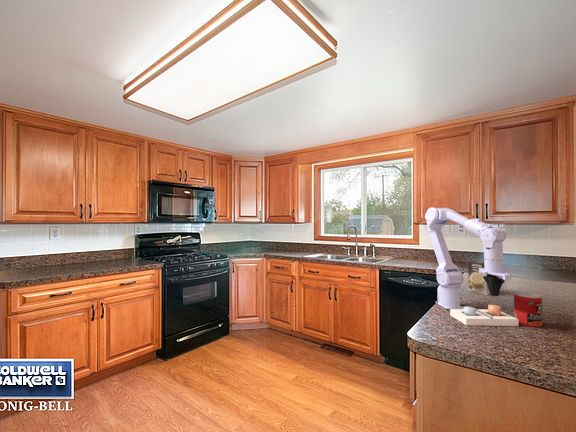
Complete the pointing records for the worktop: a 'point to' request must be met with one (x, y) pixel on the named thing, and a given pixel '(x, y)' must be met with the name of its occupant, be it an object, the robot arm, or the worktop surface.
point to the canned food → (528, 308)
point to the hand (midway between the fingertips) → (494, 295)
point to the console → (484, 318)
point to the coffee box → (476, 278)
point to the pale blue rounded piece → (469, 311)
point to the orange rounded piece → (494, 310)
